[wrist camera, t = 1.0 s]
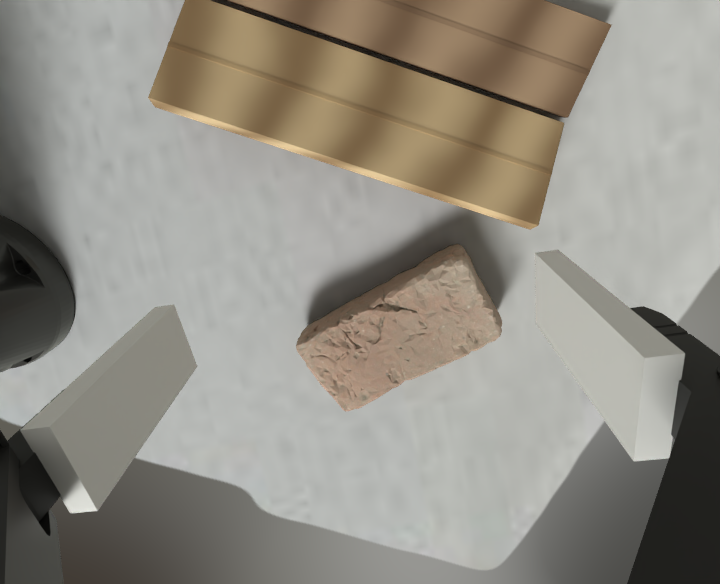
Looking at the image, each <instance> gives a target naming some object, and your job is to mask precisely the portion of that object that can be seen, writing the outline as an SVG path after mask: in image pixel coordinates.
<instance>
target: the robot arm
mask: <svg viewBox="0 0 720 584" xmlns="http://www.w3.org/2000/svg"><path fill="white" fill-rule="evenodd" d="M535 311H536V325H537V326H538V328H539V329H540V331H541V332H542V333H543V335H544V336H545V338H546V339H547V340H548V342H549V343H550V345H551V346H552V347H553V349H554V350H555V352H556V353H557V354H558V356H559V357H560V359H561V360H562V361H563V363H564V364H565V366H566V367H567V369H568V370H569V371H570V373H571V374H572V376H573V377H574V378H575V380H576V381H577V383H578V384H579V385H580V387H581V388H582V390H583V391H584V392H585V394H586V395H587V397H588V398H589V399H590V401H591V402H592V404H593V405H594V406H595V408H596V409H597V411H598V412H599V413H600V415H601V416H602V418H603V419H604V420H605V422H606V423H607V425H608V426H609V427H610V429H611V430H612V432H613V433H614V434H615V436H616V437H617V439H618V440H619V441H620V443H621V444H622V446H623V447H624V448H625V450H626V451H627V453H628V454H629V455H630V457H631V458H632V460H633V461H642V460H653V459H664V458H669V461H668V463H667V466H666V469H665V473H664V475H663V478H662V482H661V484H660V487H659V490H658V493H657V496H656V499H655V502H654V505H653V508H652V512H651V514H650V517H649V520H648V523H647V526H646V529H645V532H644V535H643V538H642V541H641V544H640V547H639V550H638V553H637V556H636V559H635V562H634V565H633V568H632V571H631V574H630V577H629V580H628V583H627V584H720V356H719V355H718V354H717V353H715V352H714V351H712V350H711V349H710V348H708V347H707V346H706V345H704V344H703V343H702V342H700V341H699V340H698V339H696V338H695V337H694V336H692V335H691V334H688V333H687V331H685V330H684V329H683V328H681V327H680V326H677V325H676V323H675V322H673V321H672V320H671V319H669V318H668V317H667V316H665V315H664V314H662V313H659V312H657V311H654V310H652V309H649V308H646V307H636V308H629V307H628V306H626V305H625V304H624V303H623V302H622V301H620V300H619V299H618V298H617V297H615V296H614V295H613V294H612V293H610V292H609V291H608V290H607V289H606V288H604V287H603V286H602V285H601V284H599V283H598V282H597V281H596V280H595V279H593V278H592V277H591V276H590V275H588V274H587V273H586V272H585V271H584V270H582V269H581V268H580V267H579V266H577V265H576V264H575V263H574V262H572V261H571V260H570V259H569V258H568V257H566V256H565V255H564V254H563V253H561V252H560V251H559V250H553V251H546V252H539V253H535ZM73 319H74V298H73V293H72V289H71V286H70V283H69V281H68V278H67V276H66V274H65V272H64V271H63V269H62V267H61V265H60V264H59V262H58V261H57V260H56V258H55V257H54V256H53V254H52V253H51V252H50V251H49V250H48V248H47V247H46V246H45V245H44V244H43V243H42V242H41V241H40V240H38V239H37V238H36V237H35V236H34V235H33V234H31V233H30V232H29V231H27V230H26V229H24V228H23V227H21V226H20V225H18V224H17V223H15V222H13V221H11V220H9V219H7V218H5V217H2V216H0V372H3V371H5V370H8V369H10V368H15V367H19V366H23V365H26V364H29V363H31V362H33V361H35V360H37V359H39V358H41V357H42V356H44V355H45V354H47V353H48V352H49V351H51V350H52V349H53V348H55V347H56V346H57V345H59V344H60V343H61V342H62V341H63V340H64V339H65V337H66V336H67V334H68V333H69V331H70V329H71V326H72V323H73ZM196 368H197V365H196V362H195V359H194V357H193V354H192V351H191V349H190V346H189V343H188V341H187V338H186V335H185V333H184V330H183V327H182V325H181V322H180V319H179V317H178V314H177V311H176V309H175V306H174V305H168V306H161V307H155V308H154V309H153V310H151V311H150V312H149V313H148V314H147V315H146V316H145V317H144V318H143V319H142V320H140V321H139V322H138V323H137V324H136V325H135V326H134V327H133V328H132V329H131V330H129V331H128V332H127V333H126V334H125V335H124V336H123V337H122V338H121V339H120V340H118V341H117V342H116V343H115V344H114V345H113V346H112V347H111V348H110V349H109V350H107V351H106V352H105V353H104V354H103V355H102V356H101V357H100V358H99V359H98V360H96V361H95V362H94V363H93V364H92V365H91V366H90V367H89V368H88V369H87V370H85V371H84V372H83V373H82V374H81V375H80V376H79V377H78V378H77V379H76V380H75V381H73V382H72V383H71V384H70V385H69V386H68V387H67V388H66V389H64V390H63V391H62V392H61V393H60V394H58V395H57V396H56V397H55V398H54V399H53V400H52V401H51V402H50V403H49V404H47V405H46V406H45V407H44V408H43V409H42V410H41V411H40V412H39V413H38V414H36V415H35V416H34V417H33V418H32V419H31V420H30V421H29V422H28V423H26V424H25V425H24V426H23V427H22V428H21V429H20V430H19V431H18V432H17V433H15V434H14V435H13V436H12V437H11V438H10V439H9V440H8V441H7V440H6V438H5V437H4V435H3V434H2V432H1V430H0V584H63V575H62V565H61V556H60V547H59V537H58V529H57V520H56V518H55V516H54V515H53V513H52V511H51V510H50V508H51V507H52V506H53V505H54V503H55V502H56V501H57V500H58V498H59V497H61V499H62V500H63V502H64V504H65V505H66V507H67V508H68V510H69V512H70V513H79V512H90V511H97V510H99V508H100V507H101V505H102V504H103V502H104V501H105V499H106V498H107V497H108V495H109V494H110V492H111V490H112V489H113V488H114V486H115V485H116V483H117V482H118V480H119V479H120V478H121V476H122V475H123V473H124V472H125V470H126V469H127V468H128V466H129V465H130V463H131V462H132V460H133V459H134V457H135V456H136V455H137V453H138V452H139V450H140V449H141V447H142V446H143V444H144V443H145V441H146V440H147V439H148V437H149V436H150V434H151V433H152V431H153V430H154V428H155V427H156V426H157V424H158V423H159V421H160V420H161V418H162V417H163V415H164V414H165V413H166V411H167V410H168V408H169V407H170V405H171V404H172V402H173V401H174V399H175V398H176V397H177V395H178V394H179V392H180V391H181V389H182V388H183V386H184V385H185V384H186V382H187V381H188V379H189V378H190V376H191V375H192V373H193V372H194V370H195V369H196ZM673 437H674V439H675V442H674V445H673V448H672V451H671V445H672V438H673ZM670 452H671V454H670Z"/></svg>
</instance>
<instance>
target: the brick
mask: <svg viewBox="0 0 720 584" xmlns="http://www.w3.org/2000/svg"><path fill="white" fill-rule="evenodd" d="M501 326H502V320H501V317H500V315H499V313H498V311H497V309H496V307H495V306H494V304H493V302H492V300H491V297H490V296H489V295H488V293H487V291H486V289H485V287H484V285H483V283H482V282H481V280H480V278H479V277H478V275H477V273H476V271H475V269H474V267H473V264H472V261H471V258H470V257H469V255H468V254H467V252H466V251H465V249H464V248H463V247H462V246H461V245H459V244H455V245H453V246H448V247H447V248H445V249H444V250H441V251H438V252H436V253H435V254H433V255H431V256H430V257H428V258H427V259H425V260H423V261H422V262H421V263H419V264H418V265H417V267H414V268H412V269H410V270H407V271H404V272H402V273H400V274H397V275H396V276H395V277H393V278H392V279H391V280H389V281H388V282H386V283H383V284H380V285H378V286H376V287H375V288H373V289H372V290H370V291H368V292H366V293H364V294H363V295H362V296H360V297H357V298H355V299H353V300H351V301H349V302H347V303H346V304H345V305H343V306H341V307H339V308H338V309H336V310H334V311H332V312H330V313H329V314H327V315H326V316H324V317H322V318H321V319H319V320H317V321H314V322H313V323H312V324H310V325H308V326H307V327H306V328H305V329H304V330H303V331H302V333H301V336H300V337H299V338H298V341H297V345H296V348H297V351H298V353H299V354H300V356H301V357H302V359H303V360H304V361H305V362H306V365H307V367H308V368H309V369H310V370H311V372H312V373H313V375H314V376H315V377H316V379H317V380H318V381H319V383H320V384H321V385H322V386H323V387H324V389H326V390H327V391H328V392H329V393H330V395H331V396H332V397H333V398H334V399H335V400H336V402H337V403H338V404H339V405H340V406H341V408H342V409H343V410H344V411H350V410H353V409H358V408H360V407H362V406H364V405H366V404H368V403H369V402H371V401H373V400H375V399H377V398H378V397H380V396H381V395H383V394H385V393H386V392H388V391H390V390H391V389H392V388H395V387H397V386H399V385H401V384H402V383H403V382H404V381H405V380H411V379H414V378H416V377H418V376H421V375H423V374H426V373H428V372H430V371H432V370H435V369H436V368H438V367H441V366H443V365H446V364H448V363H450V362H452V361H454V360H457V359H460V358H462V357H464V356H466V355H468V354H469V353H470V352H471V351H476V350H478V349H480V348H482V347H483V346H485V345H486V344H487V343H489V342H492V341H495V340H496V339H497V338H498V337H499V336H500V335H501V332H502V329H501Z"/></svg>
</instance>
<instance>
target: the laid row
mask: <svg viewBox="0 0 720 584" xmlns="http://www.w3.org/2000/svg"><path fill="white" fill-rule="evenodd" d="M226 1H229V2H232V3H235V4H238V5H241V6H243V7H246V8H249V9H252V10H255V11H258V12H261V13H264V14H266V15H269V16H272V17H275V18H278V19H281V20H284V21H287V22H289V23H292V24H295V25H298V26H301V27H304V28H307V29H310V30H312V31H315V32H318V33H321V34H324V35H327V36H330V37H333V38H336V39H338V40H341V41H344V42H347V43H350V44H353V45H356V46H359V47H361V48H364V49H367V50H370V51H373V52H376V53H379V54H382V55H384V56H387V57H390V58H393V59H396V60H399V61H402V62H405V63H407V64H410V65H413V66H416V67H419V68H422V69H425V70H428V71H430V72H433V73H436V74H439V75H442V76H445V77H448V78H451V79H453V80H456V81H459V82H462V83H465V84H468V85H471V86H474V87H477V88H479V89H482V90H485V91H488V92H491V93H494V94H497V95H500V96H502V97H505V98H508V99H511V100H514V101H517V102H520V103H523V104H525V105H528V106H531V107H534V108H537V109H540V110H543V111H546V112H548V113H551V114H554V115H557V116H560V117H567V118H568V116H569V114H570V112H571V110H572V108H573V106H574V103H575V101H576V99H577V97H578V95H579V93H580V91H581V89H582V86H583V84H584V82H585V80H586V78H587V76H588V74H589V72H590V70H591V67H592V65H593V63H594V61H595V59H596V57H597V55H598V53H599V50H600V48H601V46H602V44H603V42H604V40H605V38H606V36H607V34H608V31H609V29H610V27H611V24H608V23H605V22H602V21H600V20H597V19H594V18H591V17H589V16H586V15H583V14H581V13H578V12H575V11H572V10H570V9H567V8H564V7H561V6H559V5H556V4H553V3H550V2H548V1H545V0H226Z"/></svg>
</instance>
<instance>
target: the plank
mask: <svg viewBox="0 0 720 584" xmlns="http://www.w3.org/2000/svg"><path fill="white" fill-rule="evenodd" d="M148 98H149V99H150V101H151V102H152V104H153V105H154V106H155V107H157V108H160V109H163V110H166V111H169V112H172V113H175V114H178V115H181V116H184V117H187V118H190V119H193V120H196V121H199V122H203V123H206V124H209V125H212V126H215V127H218V128H221V129H224V130H227V131H230V132H233V133H236V134H239V135H242V136H245V137H248V138H251V139H255V140H258V141H261V142H264V143H267V144H270V145H273V146H276V147H279V148H282V149H285V150H288V151H291V152H294V153H297V154H300V155H303V156H307V157H310V158H313V159H316V160H319V161H322V162H325V163H328V164H331V165H334V166H337V167H340V168H343V169H346V170H349V171H352V172H356V173H359V174H362V175H365V176H368V177H371V178H374V179H377V180H380V181H383V182H386V183H389V184H392V185H395V186H398V187H401V188H404V189H408V190H411V191H414V192H417V193H420V194H423V195H426V196H429V197H432V198H435V199H438V200H441V201H444V202H447V203H450V204H453V205H456V206H460V207H463V208H466V209H469V210H472V211H475V212H478V213H481V214H484V215H487V216H490V217H493V218H496V219H499V220H502V221H505V222H508V223H512V224H515V225H518V226H521V227H524V228H527V229H532V228H534V227H536V226H538V225H539V221H540V217H541V213H542V209H543V205H544V201H545V197H546V193H547V189H548V185H549V181H550V177H551V174H552V170H553V166H554V162H555V158H556V154H557V150H558V146H559V142H560V138H561V134H562V130H563V126H564V123H563V122H560V121H557V120H554V119H551V118H548V117H545V116H542V115H539V114H537V113H534V112H531V111H528V110H525V109H522V108H519V107H516V106H514V105H511V104H508V103H505V102H502V101H499V100H496V99H493V98H490V97H488V96H485V95H482V94H479V93H476V92H473V91H470V90H467V89H464V88H462V87H459V86H456V85H453V84H450V83H447V82H444V81H441V80H438V79H436V78H433V77H430V76H427V75H424V74H421V73H418V72H415V71H413V70H410V69H407V68H404V67H401V66H398V65H395V64H392V63H389V62H387V61H384V60H381V59H378V58H375V57H372V56H369V55H366V54H363V53H361V52H358V51H355V50H352V49H349V48H346V47H343V46H340V45H338V44H335V43H332V42H329V41H326V40H323V39H320V38H317V37H314V36H312V35H309V34H306V33H303V32H300V31H297V30H294V29H291V28H288V27H286V26H283V25H280V24H277V23H274V22H271V21H268V20H265V19H263V18H260V17H257V16H254V15H251V14H248V13H245V12H242V11H239V10H237V9H234V8H231V7H228V6H225V5H222V4H219V3H216V2H213V1H211V0H185V2H184V4H183V7H182V10H181V12H180V15H179V18H178V20H177V23H176V26H175V28H174V31H173V34H172V36H171V39H170V41H169V43H168V47H167V49H166V52H165V55H164V57H163V60H162V63H161V65H160V68H159V70H158V73H157V76H156V78H155V81H154V84H153V86H152V89H151V92H150V94H149V97H148Z"/></svg>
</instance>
